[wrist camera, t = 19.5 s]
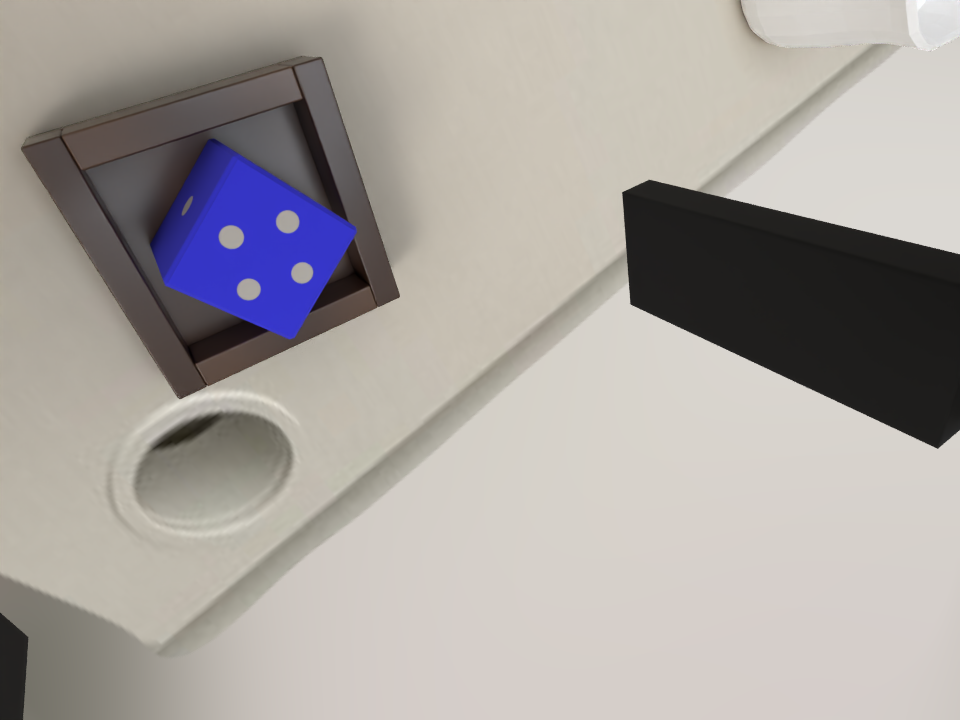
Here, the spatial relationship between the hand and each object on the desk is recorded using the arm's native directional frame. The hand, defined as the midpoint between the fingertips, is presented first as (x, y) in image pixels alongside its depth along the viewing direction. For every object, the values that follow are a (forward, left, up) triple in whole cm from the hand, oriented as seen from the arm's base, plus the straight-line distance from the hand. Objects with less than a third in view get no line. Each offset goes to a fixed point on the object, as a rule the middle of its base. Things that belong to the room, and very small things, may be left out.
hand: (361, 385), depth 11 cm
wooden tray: (+1, -1, -18) cm, 18 cm away
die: (+1, -1, -17) cm, 17 cm away
